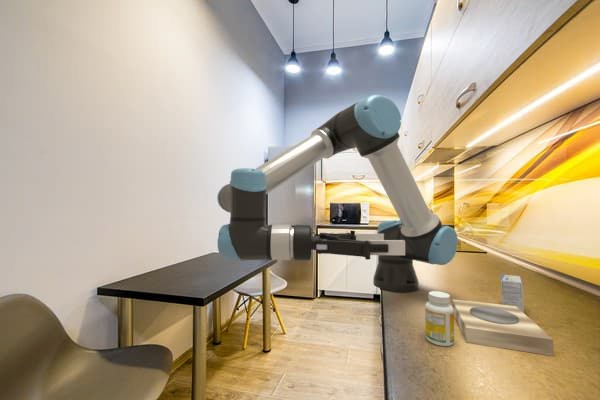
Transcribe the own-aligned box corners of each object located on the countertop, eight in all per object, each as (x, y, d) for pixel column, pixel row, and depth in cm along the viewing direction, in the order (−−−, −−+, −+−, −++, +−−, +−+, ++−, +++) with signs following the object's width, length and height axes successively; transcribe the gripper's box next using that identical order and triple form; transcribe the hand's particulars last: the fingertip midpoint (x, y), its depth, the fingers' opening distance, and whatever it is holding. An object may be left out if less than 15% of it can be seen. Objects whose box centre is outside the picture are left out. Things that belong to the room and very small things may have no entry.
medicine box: (524, 317, 67) (523, 282, 67) (501, 313, 70) (500, 279, 70) (522, 307, 73) (521, 276, 74) (501, 304, 76) (501, 273, 76)
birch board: (452, 310, 72) (452, 297, 72) (516, 318, 66) (515, 304, 66) (466, 342, 55) (466, 325, 55) (553, 355, 50) (553, 337, 50)
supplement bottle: (435, 347, 53) (434, 298, 53) (420, 334, 58) (419, 290, 58) (460, 346, 53) (459, 297, 54) (443, 333, 59) (442, 289, 59)
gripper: (295, 250, 69) (377, 251, 69) (288, 274, 44) (417, 275, 44) (295, 222, 70) (376, 222, 69) (289, 229, 45) (416, 230, 44)
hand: (392, 243), depth 57 cm, fingers open, 13 cm apart
